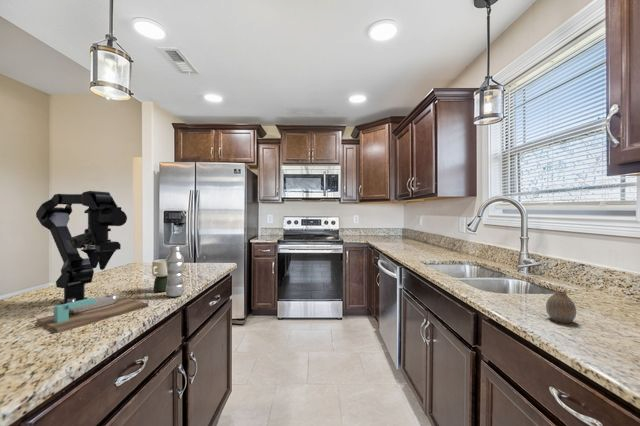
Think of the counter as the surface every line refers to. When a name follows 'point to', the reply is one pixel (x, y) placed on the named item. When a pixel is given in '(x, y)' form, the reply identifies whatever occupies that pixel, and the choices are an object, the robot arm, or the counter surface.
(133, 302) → the board
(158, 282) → the character mug
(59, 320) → the keeper
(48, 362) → the counter surface
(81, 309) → the link
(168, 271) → the plastic bottle
